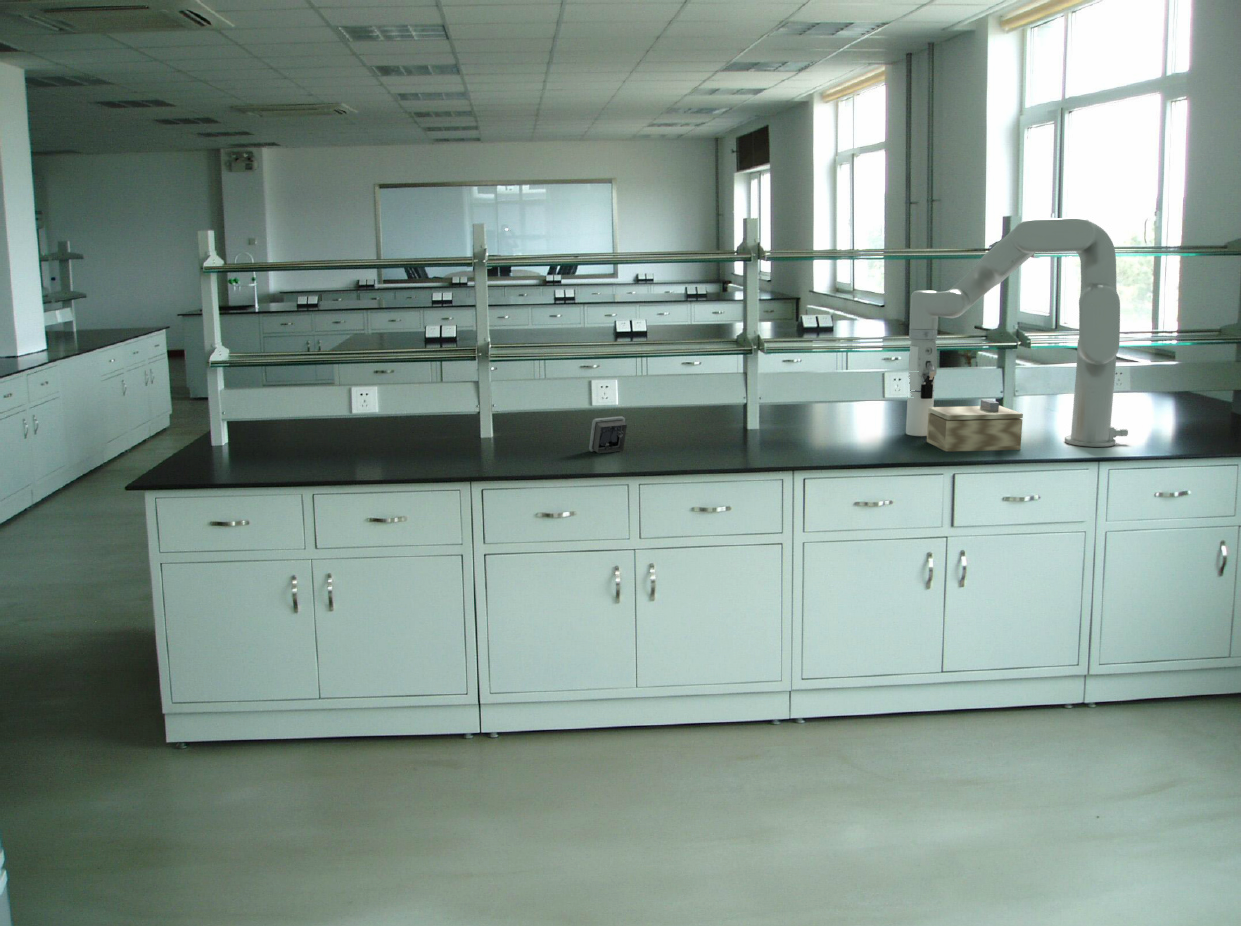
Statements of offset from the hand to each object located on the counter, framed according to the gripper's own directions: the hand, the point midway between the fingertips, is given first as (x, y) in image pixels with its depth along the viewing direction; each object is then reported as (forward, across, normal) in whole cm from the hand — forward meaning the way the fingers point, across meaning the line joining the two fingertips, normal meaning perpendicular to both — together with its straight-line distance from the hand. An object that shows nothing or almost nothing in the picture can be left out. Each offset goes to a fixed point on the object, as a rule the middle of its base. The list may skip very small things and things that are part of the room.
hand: (920, 396), depth 302 cm
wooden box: (+11, -19, -8) cm, 23 cm away
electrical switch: (+11, -14, +89) cm, 91 cm away
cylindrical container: (+11, 0, 0) cm, 11 cm away
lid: (+3, -19, -8) cm, 21 cm away
